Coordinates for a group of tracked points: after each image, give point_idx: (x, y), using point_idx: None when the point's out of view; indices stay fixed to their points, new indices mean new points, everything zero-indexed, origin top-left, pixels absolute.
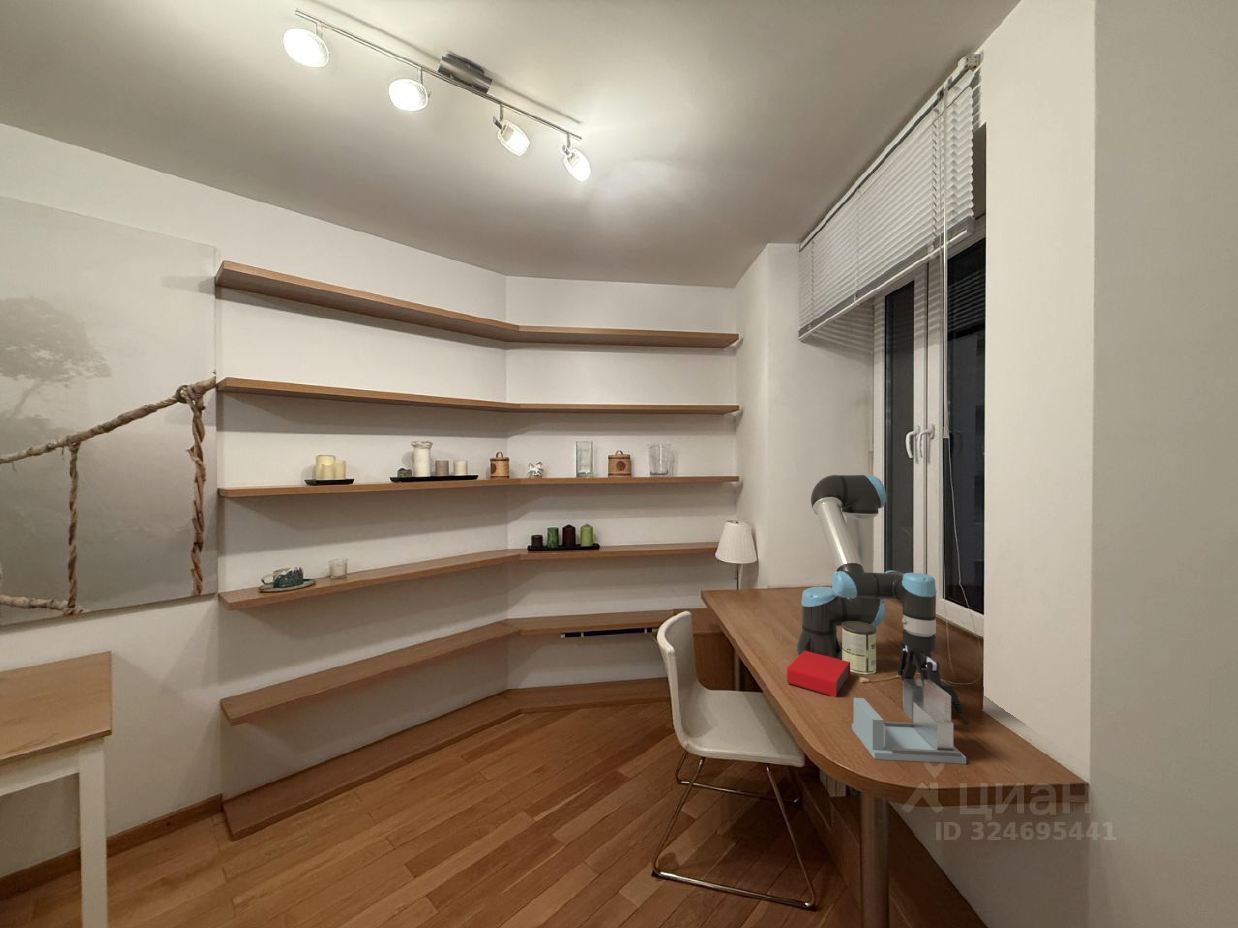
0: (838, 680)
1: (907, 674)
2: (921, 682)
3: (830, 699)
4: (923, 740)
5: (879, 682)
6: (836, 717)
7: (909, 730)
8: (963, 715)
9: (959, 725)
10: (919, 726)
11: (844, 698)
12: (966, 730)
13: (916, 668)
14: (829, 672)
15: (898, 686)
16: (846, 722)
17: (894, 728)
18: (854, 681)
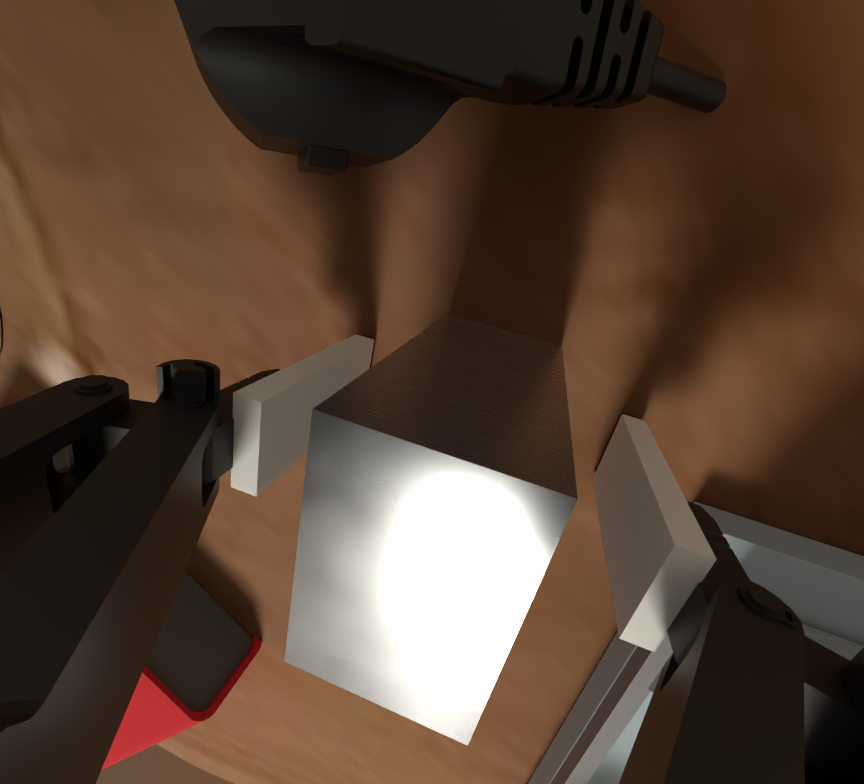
0: (157, 636)
1: (186, 550)
2: (405, 566)
3: (282, 676)
4: None
5: (81, 305)
6: (425, 766)
7: None
8: (673, 69)
9: (692, 200)
10: None
11: (272, 621)
12: (784, 207)
13: (108, 598)
14: None
15: (110, 210)
16: (469, 768)
17: (630, 735)
18: None
